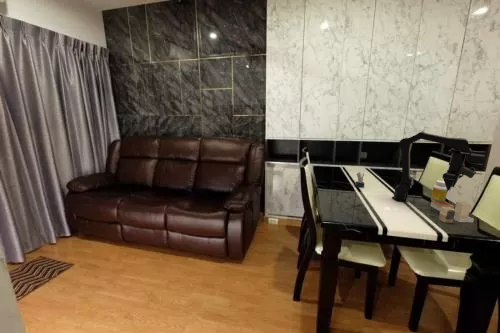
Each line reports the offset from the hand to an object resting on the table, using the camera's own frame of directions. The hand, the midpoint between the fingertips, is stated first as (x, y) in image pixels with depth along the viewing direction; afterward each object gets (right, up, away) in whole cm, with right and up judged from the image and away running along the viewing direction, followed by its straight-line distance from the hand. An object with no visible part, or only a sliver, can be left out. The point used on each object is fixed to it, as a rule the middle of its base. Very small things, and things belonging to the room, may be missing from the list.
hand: (450, 188), depth 132 cm
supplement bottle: (+7, -10, +18) cm, 21 cm away
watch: (-31, -3, +43) cm, 53 cm away
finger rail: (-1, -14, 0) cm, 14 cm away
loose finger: (-10, -16, -9) cm, 21 cm away
